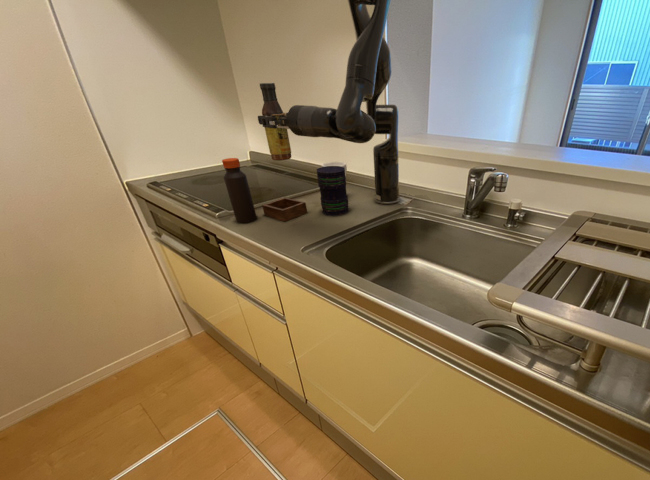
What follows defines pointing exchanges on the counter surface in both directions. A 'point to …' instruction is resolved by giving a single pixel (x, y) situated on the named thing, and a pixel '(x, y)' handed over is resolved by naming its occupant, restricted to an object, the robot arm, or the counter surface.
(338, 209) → the storage jar
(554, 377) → the counter surface
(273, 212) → the box
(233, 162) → the vinegar
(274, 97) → the sauce bottle
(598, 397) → the counter surface
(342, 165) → the foam cup
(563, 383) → the counter surface
